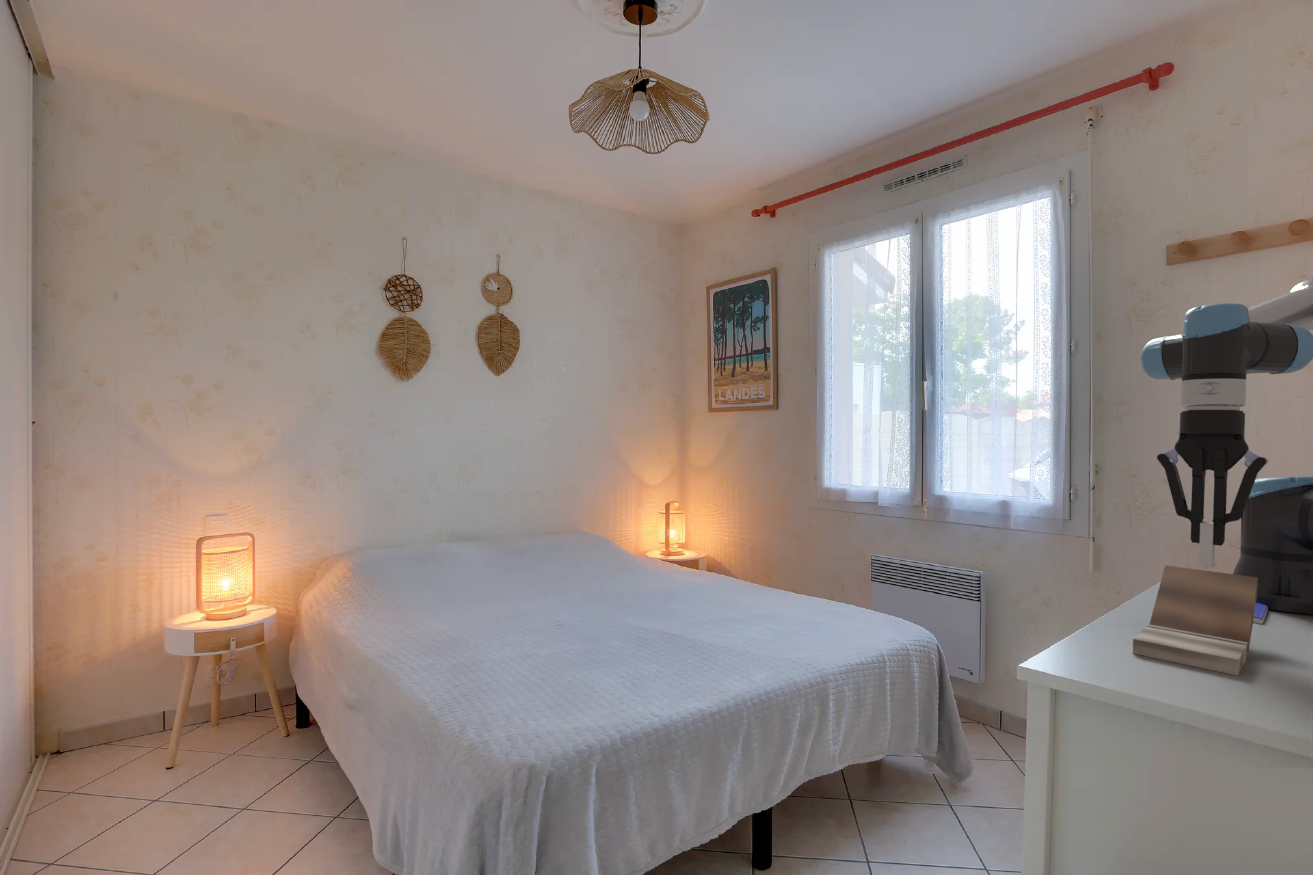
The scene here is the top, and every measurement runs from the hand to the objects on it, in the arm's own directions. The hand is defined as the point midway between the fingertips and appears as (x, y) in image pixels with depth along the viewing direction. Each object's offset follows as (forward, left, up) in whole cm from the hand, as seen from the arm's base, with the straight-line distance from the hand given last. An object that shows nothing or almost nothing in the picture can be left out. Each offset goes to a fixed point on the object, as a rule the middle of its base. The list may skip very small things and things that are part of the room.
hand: (1206, 565), depth 100 cm
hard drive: (-18, -13, -11) cm, 25 cm away
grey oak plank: (+10, +8, -11) cm, 17 cm away
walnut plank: (+1, +1, -6) cm, 7 cm away
